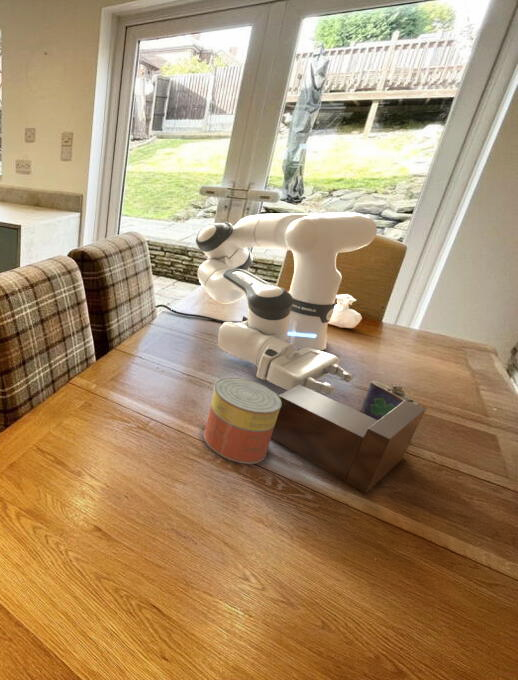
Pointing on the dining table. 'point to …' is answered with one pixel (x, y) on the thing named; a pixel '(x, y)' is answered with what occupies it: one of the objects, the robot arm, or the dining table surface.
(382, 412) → the flask
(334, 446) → the l-shaped brown block
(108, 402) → the dining table surface
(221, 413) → the canned food
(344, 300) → the white tied sack
